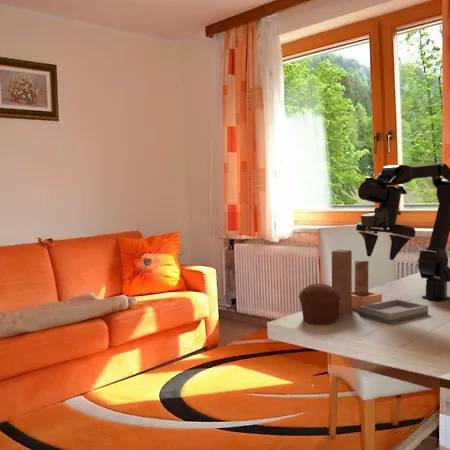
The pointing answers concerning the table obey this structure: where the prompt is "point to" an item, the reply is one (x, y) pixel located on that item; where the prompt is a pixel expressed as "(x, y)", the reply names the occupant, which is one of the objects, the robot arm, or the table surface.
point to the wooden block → (342, 279)
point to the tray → (393, 310)
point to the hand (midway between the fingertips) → (379, 258)
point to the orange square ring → (365, 299)
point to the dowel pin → (361, 278)
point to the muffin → (319, 304)
